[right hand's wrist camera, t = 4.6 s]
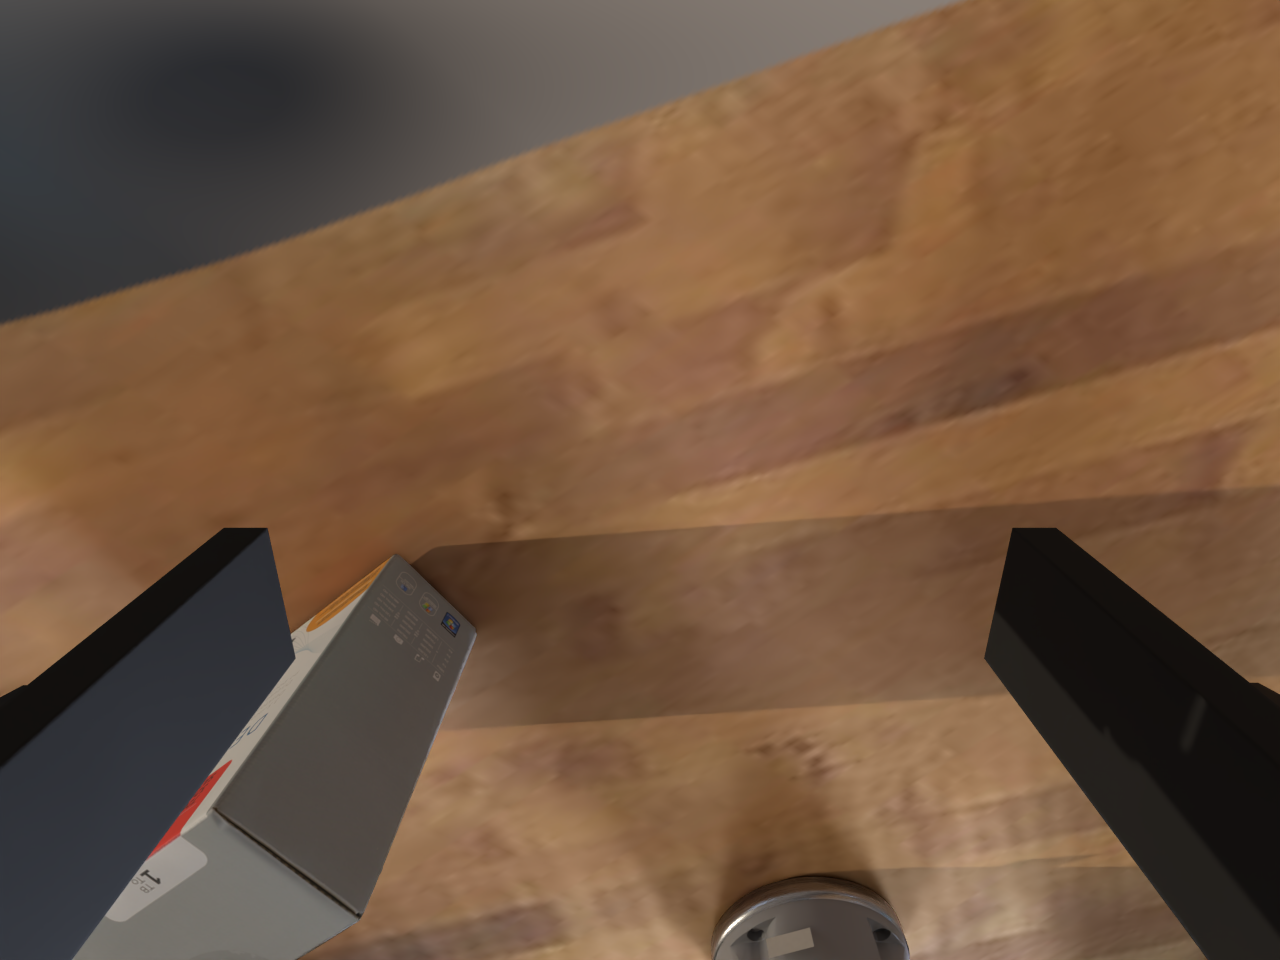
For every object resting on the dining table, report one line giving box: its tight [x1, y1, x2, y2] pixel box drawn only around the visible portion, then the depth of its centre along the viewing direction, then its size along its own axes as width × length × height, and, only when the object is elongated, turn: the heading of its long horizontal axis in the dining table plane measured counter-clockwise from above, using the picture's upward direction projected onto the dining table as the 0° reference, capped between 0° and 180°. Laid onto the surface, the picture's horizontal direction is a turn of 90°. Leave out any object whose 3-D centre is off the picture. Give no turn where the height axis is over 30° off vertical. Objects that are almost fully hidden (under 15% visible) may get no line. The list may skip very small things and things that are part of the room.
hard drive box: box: [72, 554, 477, 960], centre depth 37 cm, size 16×8×20 cm, turn 128°
